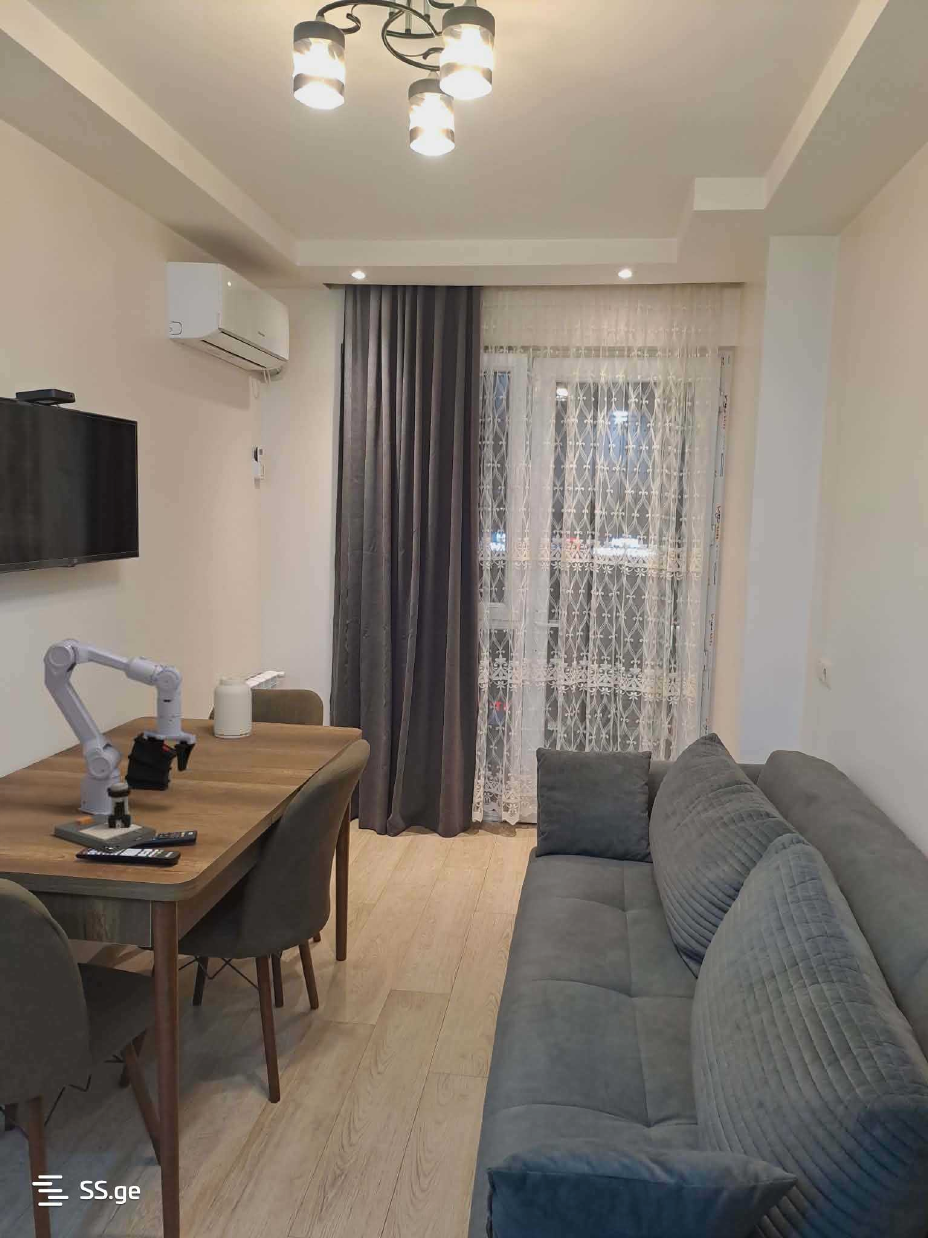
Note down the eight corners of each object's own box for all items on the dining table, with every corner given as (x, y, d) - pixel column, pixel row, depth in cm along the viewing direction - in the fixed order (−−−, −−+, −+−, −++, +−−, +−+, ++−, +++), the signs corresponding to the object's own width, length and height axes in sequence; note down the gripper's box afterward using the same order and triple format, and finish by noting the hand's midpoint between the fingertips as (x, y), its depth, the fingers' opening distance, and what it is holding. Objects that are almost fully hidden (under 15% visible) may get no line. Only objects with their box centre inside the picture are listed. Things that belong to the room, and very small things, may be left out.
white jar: (215, 731, 309) (215, 674, 307) (252, 730, 311) (252, 674, 309) (212, 739, 297) (212, 680, 295) (250, 739, 299) (250, 680, 297)
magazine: (120, 778, 244) (142, 731, 242) (162, 801, 243) (184, 754, 241) (113, 782, 240) (136, 734, 238) (156, 805, 239) (178, 757, 237)
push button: (99, 831, 200) (98, 788, 199) (104, 823, 206) (103, 781, 205) (129, 830, 202) (129, 787, 201) (134, 822, 207) (133, 780, 206)
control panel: (54, 835, 203) (54, 823, 203) (100, 821, 213) (99, 810, 213) (111, 853, 193) (110, 841, 193) (155, 838, 203) (155, 826, 203)
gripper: (134, 715, 220) (135, 769, 222) (182, 721, 215) (182, 776, 217) (154, 710, 227) (155, 762, 228) (200, 716, 222) (201, 769, 223)
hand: (169, 768), depth 223 cm, fingers open, 7 cm apart
